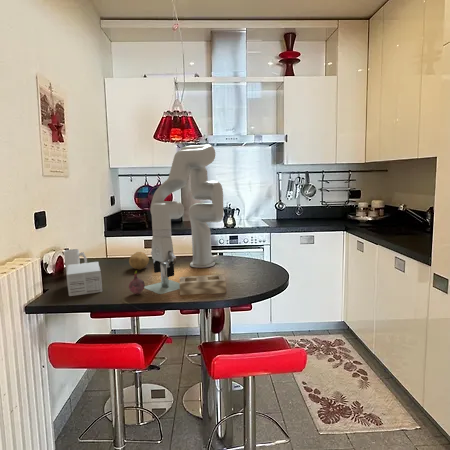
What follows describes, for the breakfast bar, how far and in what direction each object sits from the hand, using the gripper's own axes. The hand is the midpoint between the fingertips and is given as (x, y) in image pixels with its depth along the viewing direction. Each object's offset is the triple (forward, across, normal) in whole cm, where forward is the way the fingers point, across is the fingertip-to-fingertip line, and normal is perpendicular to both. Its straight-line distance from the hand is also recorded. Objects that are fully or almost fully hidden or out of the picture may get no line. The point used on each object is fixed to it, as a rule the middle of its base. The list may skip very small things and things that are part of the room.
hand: (164, 274), depth 157 cm
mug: (+6, -50, -18) cm, 54 cm away
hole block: (+6, +15, +8) cm, 18 cm away
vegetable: (+6, 0, -13) cm, 14 cm away
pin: (+5, 0, 0) cm, 5 cm away
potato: (+6, -36, +8) cm, 38 cm away
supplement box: (+6, -25, -24) cm, 35 cm away
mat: (+6, 0, 0) cm, 6 cm away
